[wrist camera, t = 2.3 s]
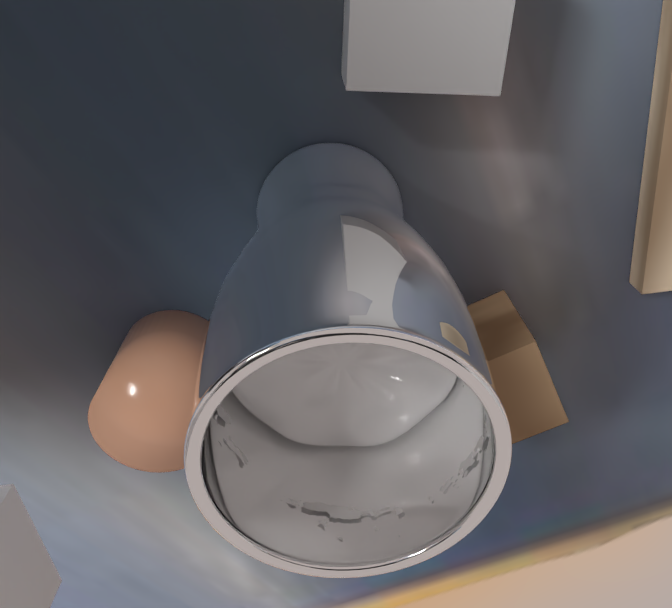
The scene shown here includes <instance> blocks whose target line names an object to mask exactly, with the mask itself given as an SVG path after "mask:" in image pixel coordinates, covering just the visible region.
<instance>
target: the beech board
mask: <svg viewBox="0 0 672 608" xmlns="http://www.w3.org/2000/svg"><path fill="white" fill-rule="evenodd" d="M629 283H630V284H631V285H633V286H634V287H635V288H636V289H637V290H638V291H639V292H640V293H641V294H649V293H657V292H665V291H672V0H663V5H662V13H661V22H660V30H659V38H658V47H657V55H656V63H655V71H654V80H653V88H652V96H651V105H650V113H649V121H648V130H647V138H646V146H645V154H644V163H643V171H642V179H641V188H640V196H639V204H638V212H637V221H636V229H635V237H634V246H633V254H632V262H631V270H630V279H629Z"/></svg>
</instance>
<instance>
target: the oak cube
mask: <svg viewBox="0 0 672 608" xmlns="http://www.w3.org/2000/svg"><path fill="white" fill-rule="evenodd" d="M468 308H469V311H470V313H471V316H472V318H473V321H474V323H475V325H476V328H477V330H478V333H479V336H480V339H481V342H482V345H483V348H484V351H485V354H486V357H487V360H488V363H489V366H490V370H491V373H492V377H493V380H494V384H495V387H496V391H497V394H498V397H499V399H500V401H501V403H502V405H503V407H504V409H505V412H506V414H507V417H508V421H509V425H510V429H511V437H512V444H514V443H516V442H519V441H521V440H524V439H526V438H529V437H531V436H534V435H537V434H539V433H542V432H544V431H547V430H549V429H552V428H554V427H557V426H559V425H562V424H565V423H567V422H569V421H568V418H567V416H566V413H565V411H564V409H563V406H562V404H561V401H560V399H559V396H558V394H557V392H556V389H555V387H554V384H553V382H552V379H551V377H550V375H549V372H548V370H547V367H546V365H545V362H544V360H543V358H542V355H541V353H540V350H539V348H538V345H537V343H536V341H535V339H534V338H533V336H532V334H531V333H530V331H529V330H528V328H527V326H526V325H525V323H524V322H523V320H522V318H521V317H520V315H519V313H518V312H517V310H516V309H515V307H514V305H513V304H512V302H511V301H510V299H509V297H508V296H507V294H506V292H505V291H504V290H502V291H500V292H498V293H496V294H493V295H491V296H489V297H487V298H484V299H482V300H480V301H478V302H475V303H473V304H471V305H469V306H468Z"/></svg>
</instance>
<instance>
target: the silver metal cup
mask: <svg viewBox="0 0 672 608" xmlns="http://www.w3.org/2000/svg"><path fill="white" fill-rule="evenodd" d="M257 225H258V229H259V230H258V231H257V232H256V234H255V235H254V236H253V237H252V239H251V240H250V241H249V242H248V244H247V245H246V246H245V247H244V249H243V250H242V252H241V253H240V255H239V257H238V258H237V260H236V261H235V263H234V265H233V266H232V268H231V269H230V271H229V273H228V274H227V276H226V278H225V280H224V282H223V284H222V287H221V289H220V292H219V294H218V297H217V300H216V302H215V305H214V308H213V310H212V313H211V316H210V319H209V322H208V326H207V330H206V335H205V339H204V343H203V347H202V351H201V356H200V361H199V367H198V373H197V379H196V386H195V392H194V400H193V408H192V415H191V421H190V424H189V426H188V430H187V434H186V438H185V444H184V469H185V475H186V480H187V484H188V487H189V490H190V493H191V495H192V497H193V500H194V502H195V504H196V505H197V507H198V509H199V510H200V512H201V513H202V515H203V516H204V518H205V519H206V520H207V522H208V523H209V524H210V525H211V526H212V527H213V528H214V530H215V531H216V532H217V533H218V534H219V535H221V536H222V537H223V538H224V539H225V540H226V541H228V542H229V543H230V544H232V545H233V546H234V547H236V548H237V549H239V550H240V551H242V552H244V553H245V554H247V555H249V556H251V557H253V558H255V559H257V560H259V561H261V562H263V563H266V564H268V565H271V566H273V567H276V568H279V569H282V570H286V571H290V572H294V573H298V574H303V575H309V576H316V577H328V578H355V577H366V576H374V575H380V574H385V573H389V572H393V571H397V570H401V569H404V568H407V567H410V566H413V565H416V564H418V563H421V562H423V561H426V560H428V559H430V558H432V557H434V556H436V555H438V554H440V553H442V552H443V551H445V550H447V549H448V548H450V547H452V546H453V545H455V544H456V543H457V542H459V541H460V540H461V539H463V538H464V537H465V536H466V535H468V534H469V533H470V532H471V531H472V530H473V529H474V528H475V527H476V526H477V525H478V524H479V523H480V522H481V521H482V520H483V519H484V518H485V516H486V515H487V514H488V513H489V511H490V510H491V509H492V507H493V506H494V504H495V503H496V501H497V499H498V497H499V496H500V494H501V492H502V490H503V487H504V485H505V482H506V480H507V477H508V473H509V469H510V465H511V457H512V437H511V429H510V425H509V421H508V417H507V414H506V412H505V409H504V407H503V405H502V403H501V401H500V399H499V397H498V394H497V391H496V387H495V384H494V380H493V377H492V373H491V370H490V366H489V363H488V360H487V357H486V354H485V351H484V348H483V345H482V342H481V339H480V336H479V333H478V330H477V328H476V325H475V323H474V321H473V318H472V316H471V313H470V311H469V308H468V306H467V304H466V301H465V299H464V297H463V295H462V293H461V292H460V290H459V288H458V286H457V285H456V283H455V281H454V279H453V277H452V276H451V274H450V272H449V270H448V269H447V267H446V266H445V264H444V263H443V261H442V260H441V259H440V258H439V256H438V255H437V254H436V253H435V252H434V250H433V249H432V248H431V247H430V246H429V244H428V243H427V242H426V241H425V240H424V239H423V238H422V236H421V235H420V234H419V233H418V232H417V231H415V230H414V229H413V228H412V227H411V226H410V225H409V224H408V223H407V222H406V221H405V220H403V205H402V199H401V195H400V191H399V188H398V186H397V184H396V182H395V180H394V178H393V176H392V175H391V173H390V172H389V171H388V169H387V168H386V167H385V166H384V165H383V164H382V163H381V162H380V161H378V160H377V159H376V158H375V157H373V156H372V155H370V154H369V153H367V152H365V151H363V150H361V149H359V148H356V147H354V146H350V145H346V144H341V143H319V144H314V145H310V146H307V147H304V148H301V149H299V150H297V151H295V152H293V153H291V154H290V155H288V156H287V157H285V158H284V159H283V160H281V161H280V162H279V163H278V164H277V165H276V166H275V167H274V168H273V170H272V171H271V172H270V173H269V175H268V176H267V178H266V180H265V181H264V183H263V186H262V188H261V191H260V194H259V197H258V202H257Z"/></svg>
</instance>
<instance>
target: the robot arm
mask: <svg viewBox="0 0 672 608" xmlns="http://www.w3.org/2000/svg"><path fill="white" fill-rule="evenodd" d="M61 581H62V580H61V578H60V576H59V574H58V572H57V570H56V568H55V566H54V564H53V562H52V560H51V558H50V556H49V554H48V552H47V550H46V548H45V546H44V544H43V542H42V540H41V538H40V536H39V534H38V532H37V530H36V528H35V526H34V524H33V522H32V520H31V518H30V516H29V514H28V512H27V510H26V508H25V506H24V504H23V502H22V500H21V498H20V496H19V494H18V492H17V490H16V488H15V486H14V484H8V485H0V608H50V606H51V604H52V602H53V600H54V597H55V595H56V593H57V590H58V588H59V586H60V583H61Z"/></svg>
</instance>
